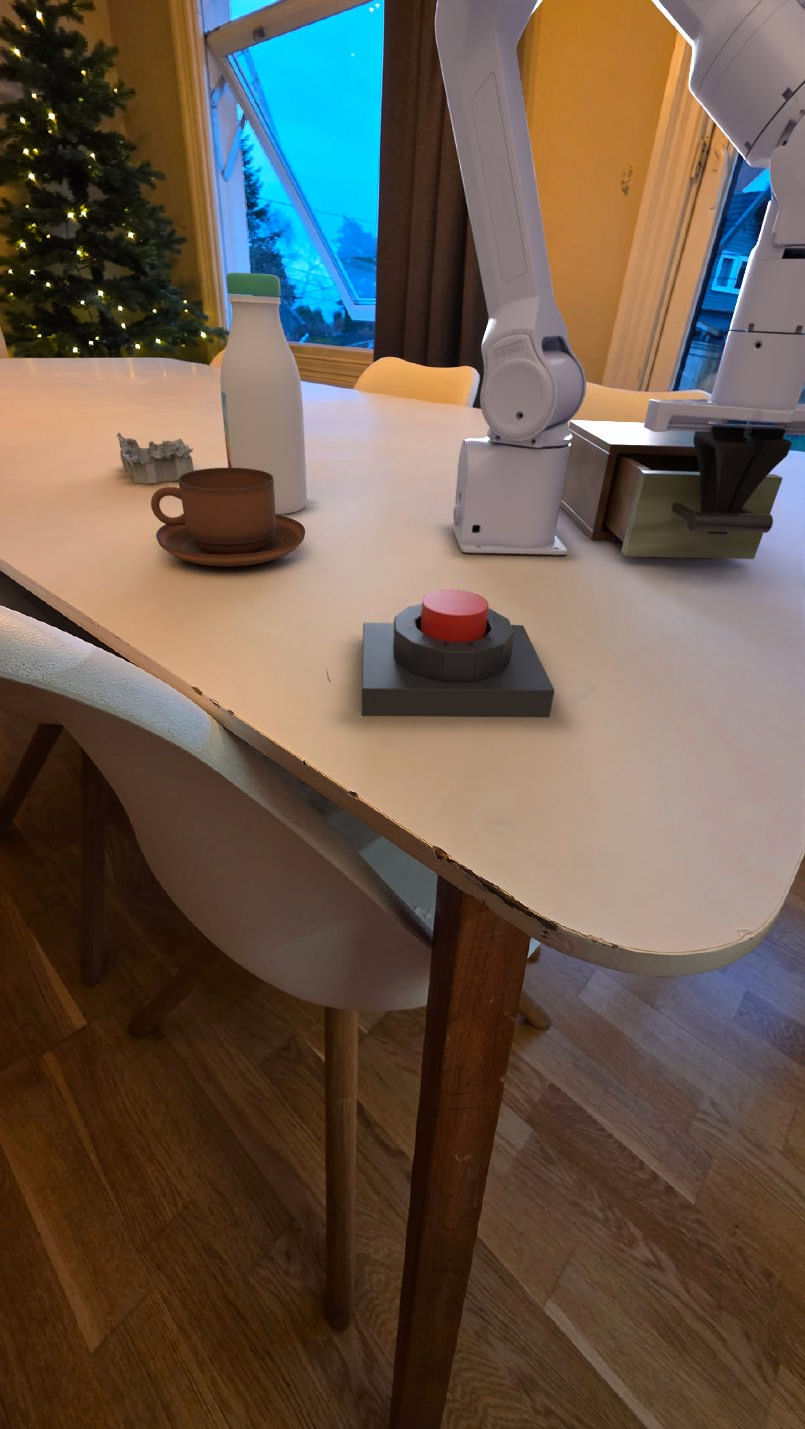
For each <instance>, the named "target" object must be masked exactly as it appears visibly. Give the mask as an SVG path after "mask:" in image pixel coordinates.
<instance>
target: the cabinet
mask: <svg viewBox="0 0 805 1429" xmlns="http://www.w3.org/2000/svg"><path fill="white" fill-rule="evenodd" d="M568 427H569V431H570V433H571V435H572V441H571V446H570V452H569V458H568V464H567V469H566V475H565V481H564V487H563V493H562V498H561V504H560V509H562V511H564V513H565V514H566V515H567V516H568V517H569V518H570V519H571V520H572V521H573V522H574V523H575V524H576V526H578V527H579V529H580V530H581V531H582V532H584V534H585V535H586V536H587V537H588V538H589V539H590V540H591V541H621V540H620V539H619V538H618V537H617V536H616V535H615V534H614V533H613V532H612V531H611V530H610V529H609V528H608V527H606V526H605V525H604V524H603V519H604V514H605V510H606V505H607V500H608V496H609V491H610V486H611V481H612V477H613V472H614V467H615V463H616V458H617V454H646V455H676V456H697V454H696V450H695V446H694V442H693V440H694V434H695V431H672V430H667V431H666V432H654V431H651V430H649V429H647V428H644V422H625V421H599V420H598V421H593V420H569V423H568Z"/></svg>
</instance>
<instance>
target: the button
mask: <svg viewBox="0 0 805 1429" xmlns="http://www.w3.org/2000/svg"><path fill="white" fill-rule="evenodd" d="M421 604H422V612H421V632H422V633H424V634H425V635H427V636H428V637H431V638H435V639H439V640H443V641H447V642H469V641H473V640H477V639H480V638H484V636H485V633H486V624H487V616H488V608H489V607H490V604H489V601H488V600H487V599H486V598H485V597H484V596H482V595H480V594H479V593H478V594H477V593H475V592H472V591H468V590H461V589H439V590H435V591H431V592H429V593H427V594H425V595H424V596H423V597H422V599H421Z"/></svg>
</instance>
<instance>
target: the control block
mask: <svg viewBox="0 0 805 1429" xmlns="http://www.w3.org/2000/svg"><path fill="white" fill-rule="evenodd" d="M421 612H422V603H420V604H415V605H411V606H407V607H406V608H405V609H403V610H402V611H400V612H399V613H397V615H395V616H394V617H393V618H394V619H393V622H363V623H362V654H361V655H362V658H361V660H362V661H361V716H362V717H440V718H441V717H442V718H443V717H446V718H447V717H448V718H449V717H450V718H451V717H456V718H550V716H551V711H552V705H553V701H554V697H555V689H554V686H553V684H552V682H551V680H550V678H549V676H548V674H547V672H546V670H545V667H544V666H543V664H542V662H541V659H540V657H539V656H538V653H537V651H536V650H535V647H534V644H533V643H532V641H531V639H530V637H529V634H528V633H527V630H526V629H525V626H524V625H523V624H511V622H510V619H509V618H508V617H506V616H504V615H502V614H501V613H498V612H496V611H495V610H494V609H491V608H488V616H487V624H486V633H485V636H484V638H480V639H477V640H473V641H469V642H447V641H443V640H439V639H435V638H431V637H428V636H427V635H425V634H424V633H422V632H421Z"/></svg>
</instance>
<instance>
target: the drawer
mask: <svg viewBox="0 0 805 1429" xmlns="http://www.w3.org/2000/svg"><path fill="white" fill-rule="evenodd" d="M783 479H784V478H783V476H780V475H777V474H776V473H769V474H768V475H767V476H766V477H765V478H764V479H763V481H762V482H761V483H760V484H759V485H758V487H757V488H756V489H755V490H754V492H753V493H752V494H751V496H750V497H749V499H748V500H747V502H746V503H745V504H744V506H743V507H742V509H741V511H740V512H739V513H717V512H701V478H700V470H699V463H698V459H697V456H676V455H646V454H617V458H616V463H615V467H614V472H613V477H612V481H611V486H610V491H609V496H608V500H607V505H606V510H605V514H604V519H603V524H604V525H605V526H606V527H608V528H609V529H610V530H611V531H612V532H613V533H614V534H615V535H616V536H617V537H618V538H619V539H620V540H619V541H620V542H622V547H621V553H622V554H623V555H624V556H625V557H637V558H638V557H639V558H643V557H644V558H685V559H687V558H689V559H728V560H731V559H732V560H734V559H735V560H754V559H755V557H756V555H757V552H758V550H759V546H760V544H761V541H762V537H763V535H764V534H767V533H768V532H770V531H771V529H772V527H773V524H774V518H773V515H772V514H771V512H772V509H773V507H774V504H775V501H776V499H777V496H778V493H779V491H780V487H781V484H782V481H783ZM706 531H710V532H727V534H709V533H708V532H706Z"/></svg>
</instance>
